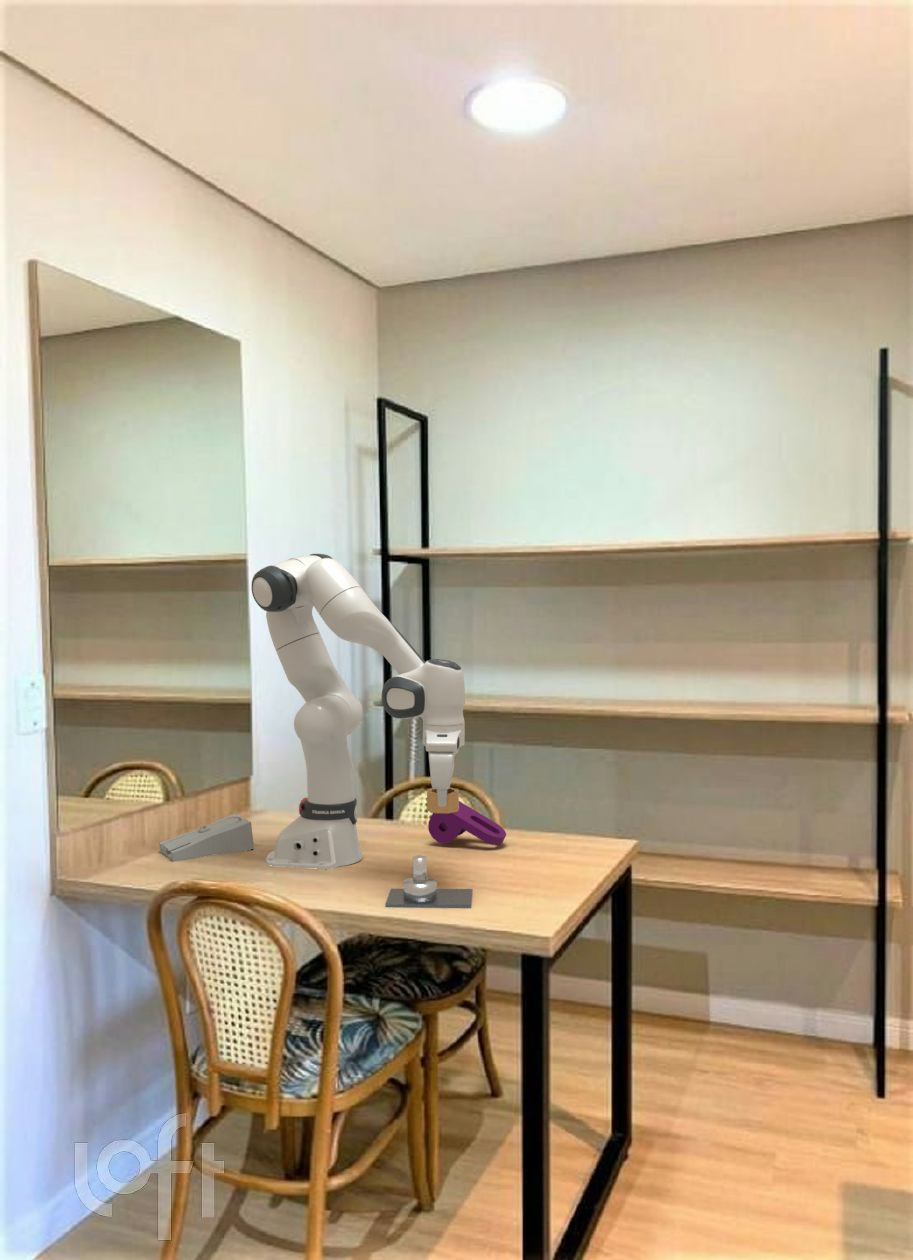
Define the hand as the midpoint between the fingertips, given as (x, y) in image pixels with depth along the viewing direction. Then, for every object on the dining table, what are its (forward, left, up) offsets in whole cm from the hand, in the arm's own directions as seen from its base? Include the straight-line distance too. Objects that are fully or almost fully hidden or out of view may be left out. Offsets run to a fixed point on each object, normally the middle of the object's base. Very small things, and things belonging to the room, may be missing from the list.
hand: (443, 801), depth 207 cm
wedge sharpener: (-60, +28, -19) cm, 69 cm away
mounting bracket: (+11, +34, -20) cm, 41 cm away
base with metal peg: (-2, -10, -18) cm, 21 cm away
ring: (0, 0, -2) cm, 2 cm away
